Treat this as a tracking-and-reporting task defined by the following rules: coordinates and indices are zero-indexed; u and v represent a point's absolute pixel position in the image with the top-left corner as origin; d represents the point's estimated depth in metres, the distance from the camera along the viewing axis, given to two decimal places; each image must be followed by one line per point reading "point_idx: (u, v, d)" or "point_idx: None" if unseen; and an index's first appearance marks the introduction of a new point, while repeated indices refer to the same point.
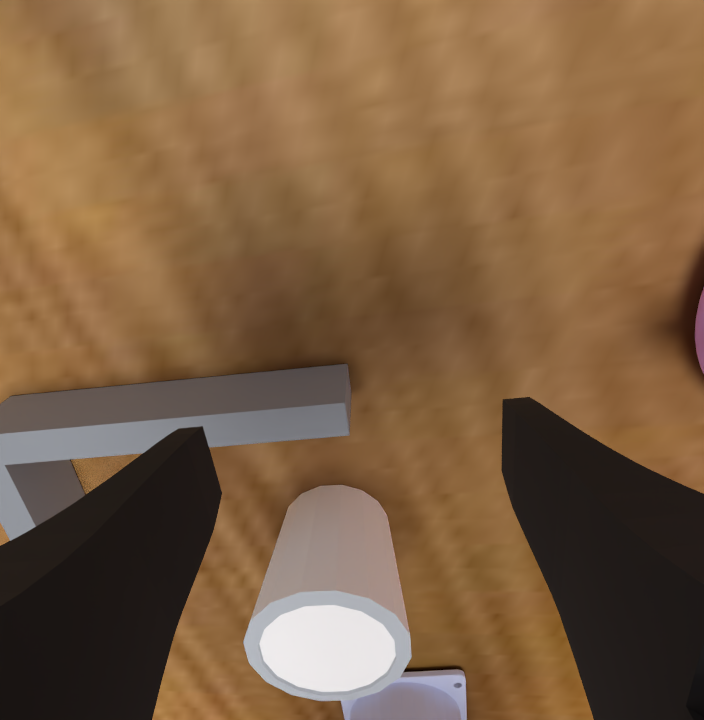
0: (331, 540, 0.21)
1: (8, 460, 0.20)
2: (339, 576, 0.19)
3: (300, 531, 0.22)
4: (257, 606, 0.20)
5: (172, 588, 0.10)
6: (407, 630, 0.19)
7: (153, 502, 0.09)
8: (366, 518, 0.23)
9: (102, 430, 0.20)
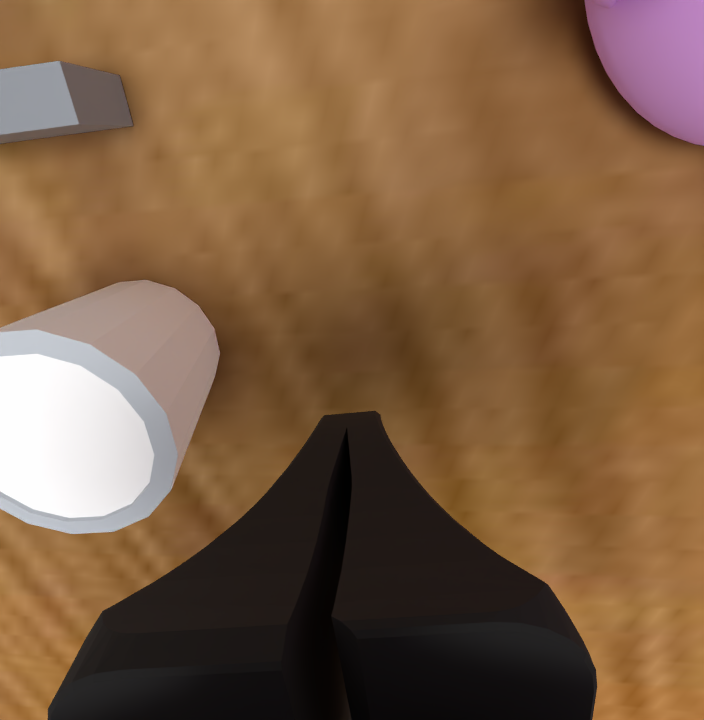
0: (82, 305, 0.15)
1: None
2: (58, 323, 0.13)
3: None
4: None
5: None
6: (162, 406, 0.13)
7: (337, 488, 0.09)
8: (158, 303, 0.17)
9: None
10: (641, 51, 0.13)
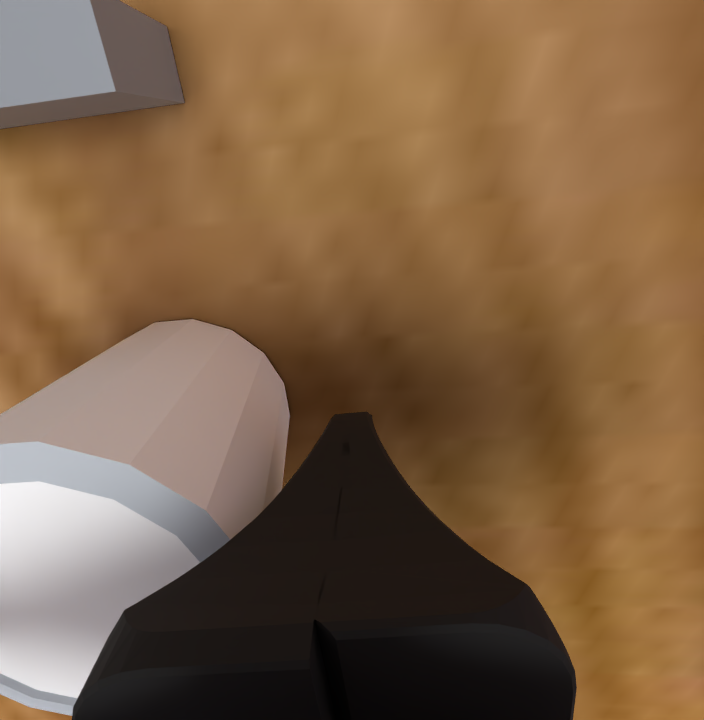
0: (110, 373, 0.10)
1: None
2: (75, 421, 0.08)
3: (70, 372, 0.11)
4: None
5: None
6: None
7: None
8: (216, 359, 0.12)
9: None
10: None
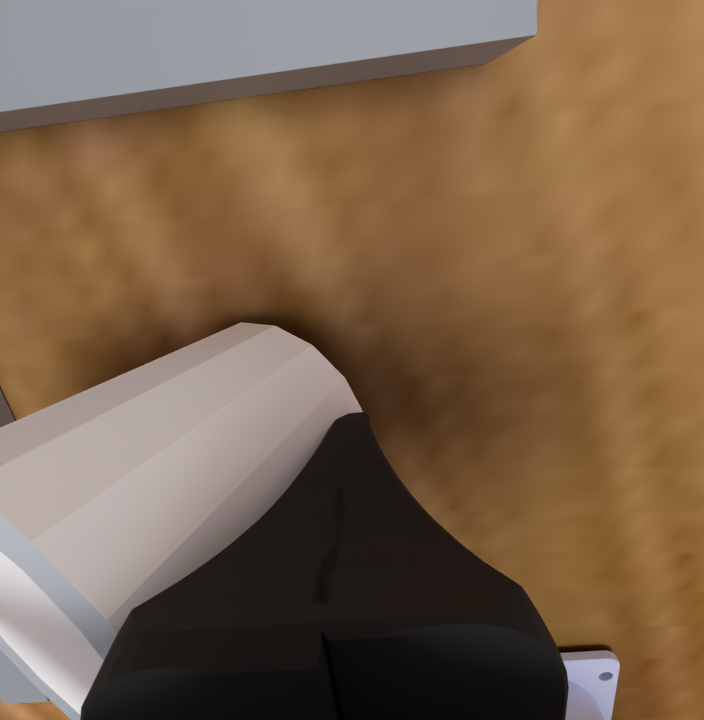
0: (126, 394, 0.09)
1: None
2: (27, 461, 0.07)
3: None
4: None
5: None
6: None
7: None
8: (264, 387, 0.10)
9: None
10: None
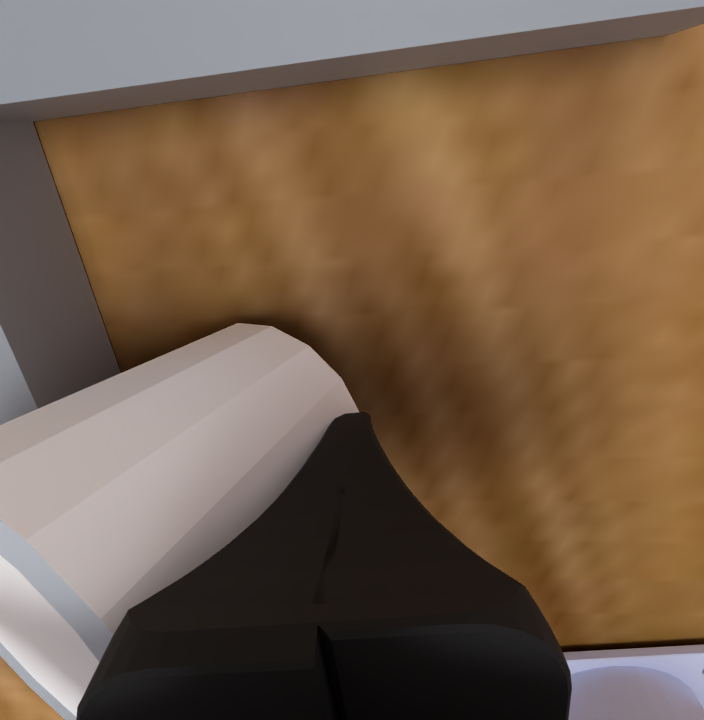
0: (121, 394, 0.09)
1: None
2: (21, 460, 0.07)
3: None
4: None
5: None
6: None
7: None
8: (260, 387, 0.10)
9: None
10: None
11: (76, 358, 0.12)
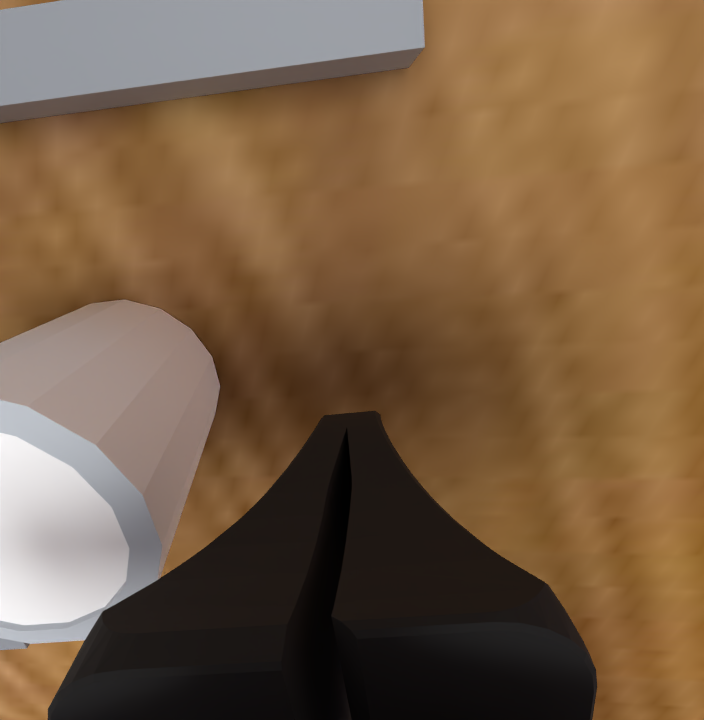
0: (32, 341, 0.11)
1: None
2: None
3: None
4: None
5: None
6: (136, 485, 0.10)
7: (338, 487, 0.09)
8: (137, 331, 0.13)
9: None
10: None
11: None
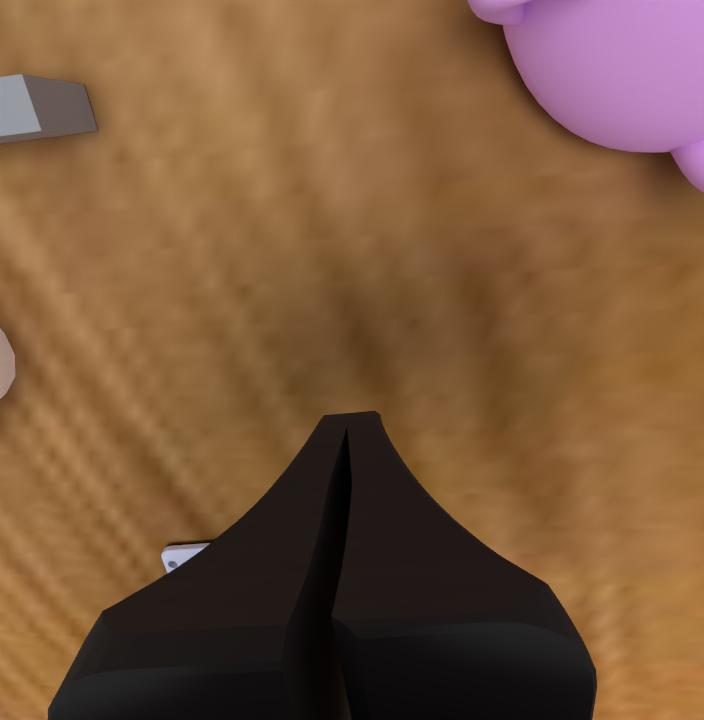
0: None
1: None
2: None
3: None
4: None
5: None
6: None
7: (337, 488, 0.09)
8: None
9: None
10: (545, 65, 0.14)
11: None
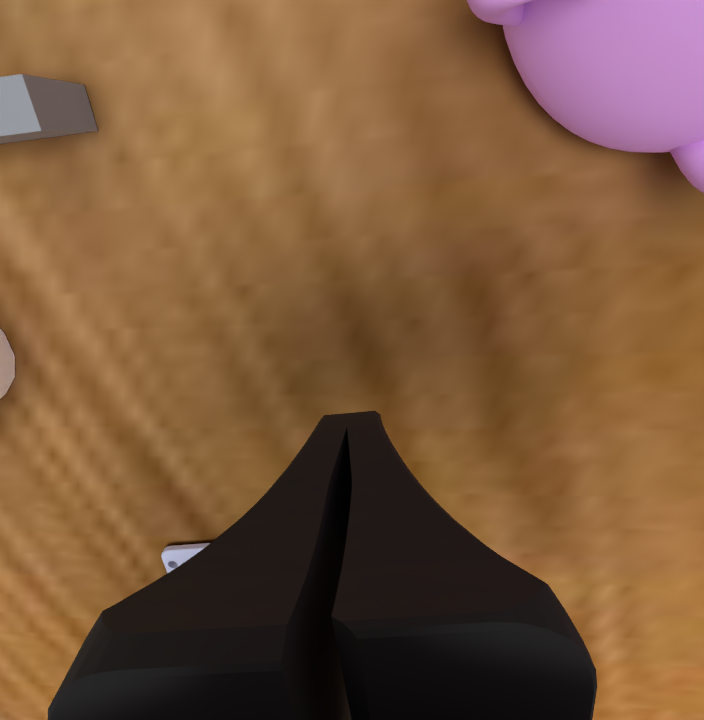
0: None
1: None
2: None
3: None
4: None
5: None
6: None
7: (337, 488, 0.09)
8: None
9: None
10: (545, 65, 0.14)
11: None
